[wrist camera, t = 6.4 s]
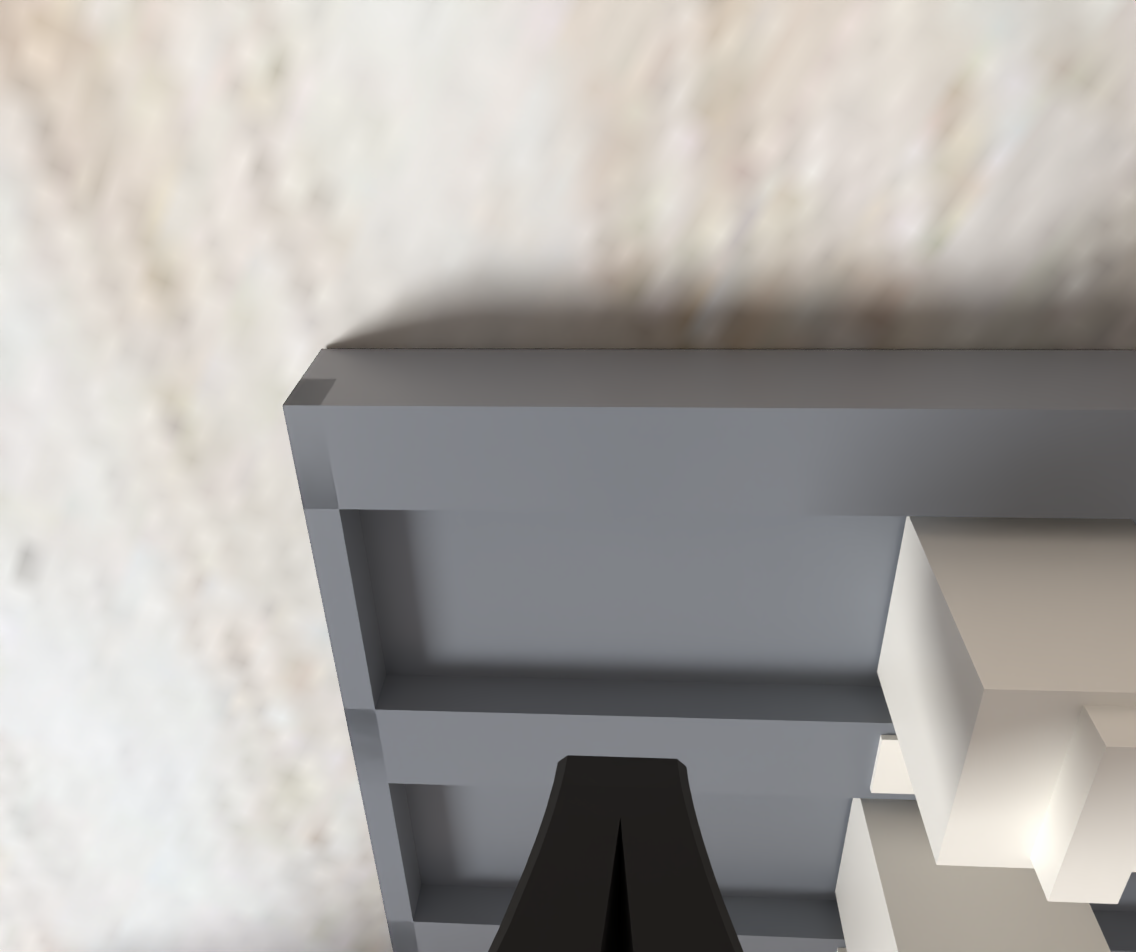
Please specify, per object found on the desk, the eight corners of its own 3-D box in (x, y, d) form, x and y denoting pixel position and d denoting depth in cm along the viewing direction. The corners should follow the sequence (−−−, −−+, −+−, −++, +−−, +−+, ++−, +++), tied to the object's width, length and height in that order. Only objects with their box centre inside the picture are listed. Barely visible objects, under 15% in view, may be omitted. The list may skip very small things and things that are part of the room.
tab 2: (835, 891, 18) (883, 1133, 14) (856, 780, 16) (916, 1023, 13) (999, 897, 18) (1089, 1145, 14) (1037, 787, 16) (1148, 1034, 13)
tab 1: (876, 672, 15) (949, 908, 12) (907, 512, 13) (1002, 729, 10) (1074, 676, 15) (1209, 918, 11) (1128, 515, 13) (1303, 738, 10)
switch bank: (439, 1031, 23) (425, 1116, 22) (321, 348, 14) (280, 408, 12) (1182, 1067, 22) (1226, 1160, 20) (1599, 350, 13) (1738, 416, 11)
